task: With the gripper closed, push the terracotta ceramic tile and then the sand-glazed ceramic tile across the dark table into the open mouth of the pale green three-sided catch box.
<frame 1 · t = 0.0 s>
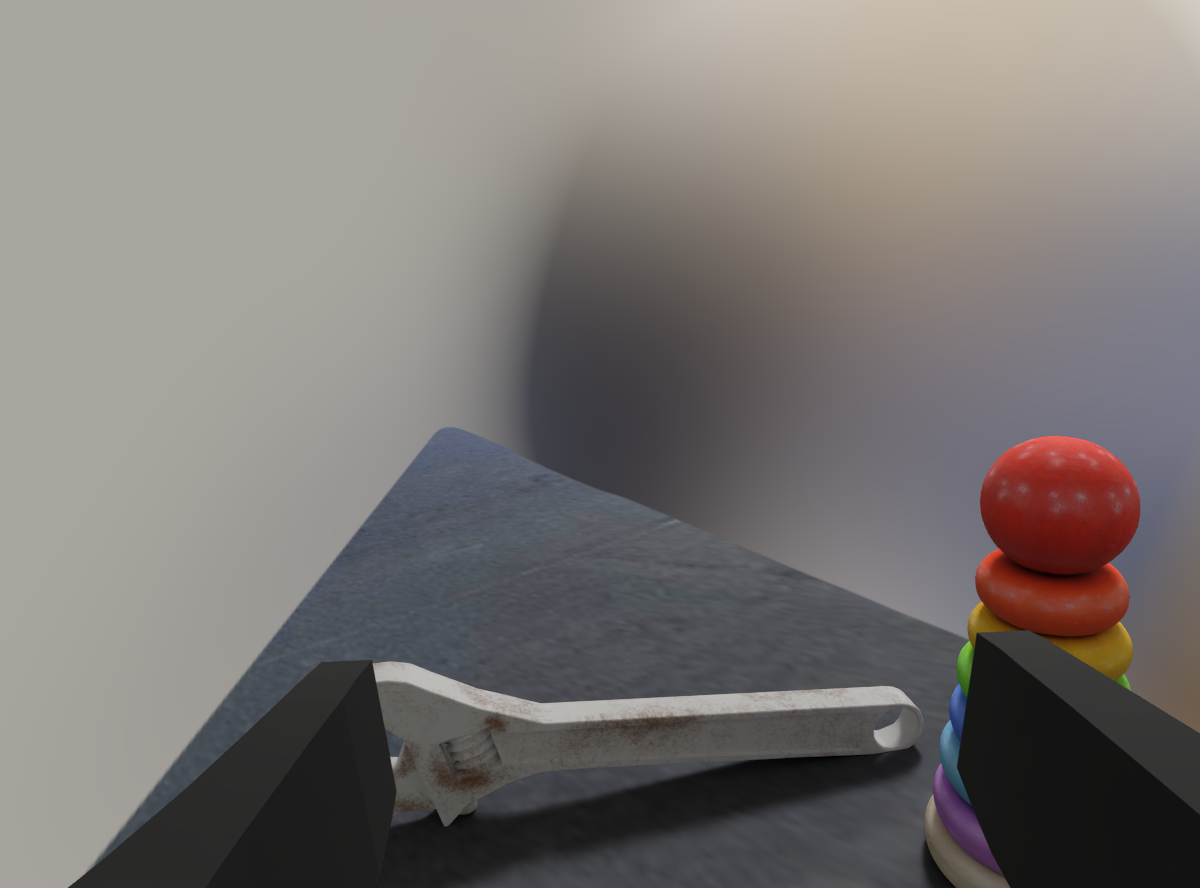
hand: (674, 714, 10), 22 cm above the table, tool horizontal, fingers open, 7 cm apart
stacking toy: (1023, 867, 34), on the table
wrench: (639, 788, 40), on the table
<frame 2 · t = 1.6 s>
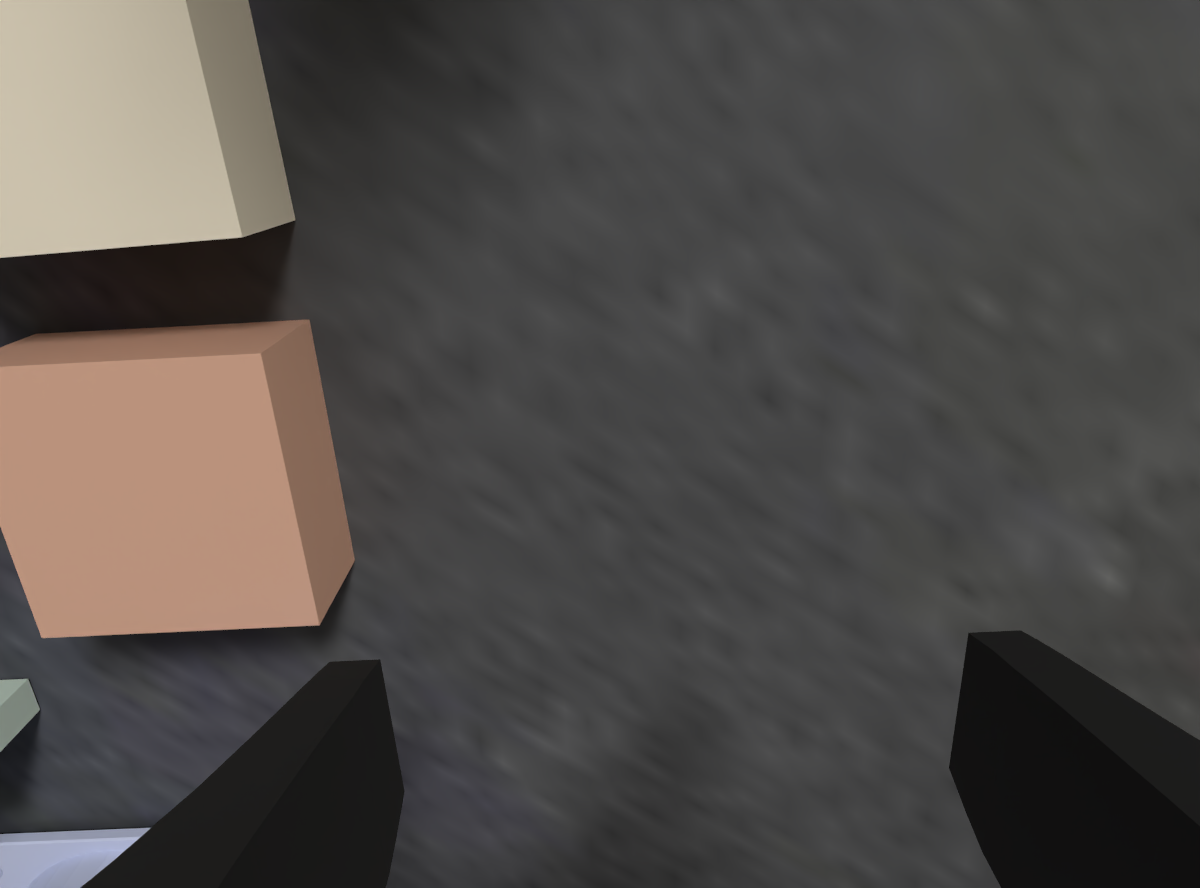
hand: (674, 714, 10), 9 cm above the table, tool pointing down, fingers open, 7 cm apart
terracotta tile: (210, 449, 19), on the table
sand tile: (117, 75, 16), on the table
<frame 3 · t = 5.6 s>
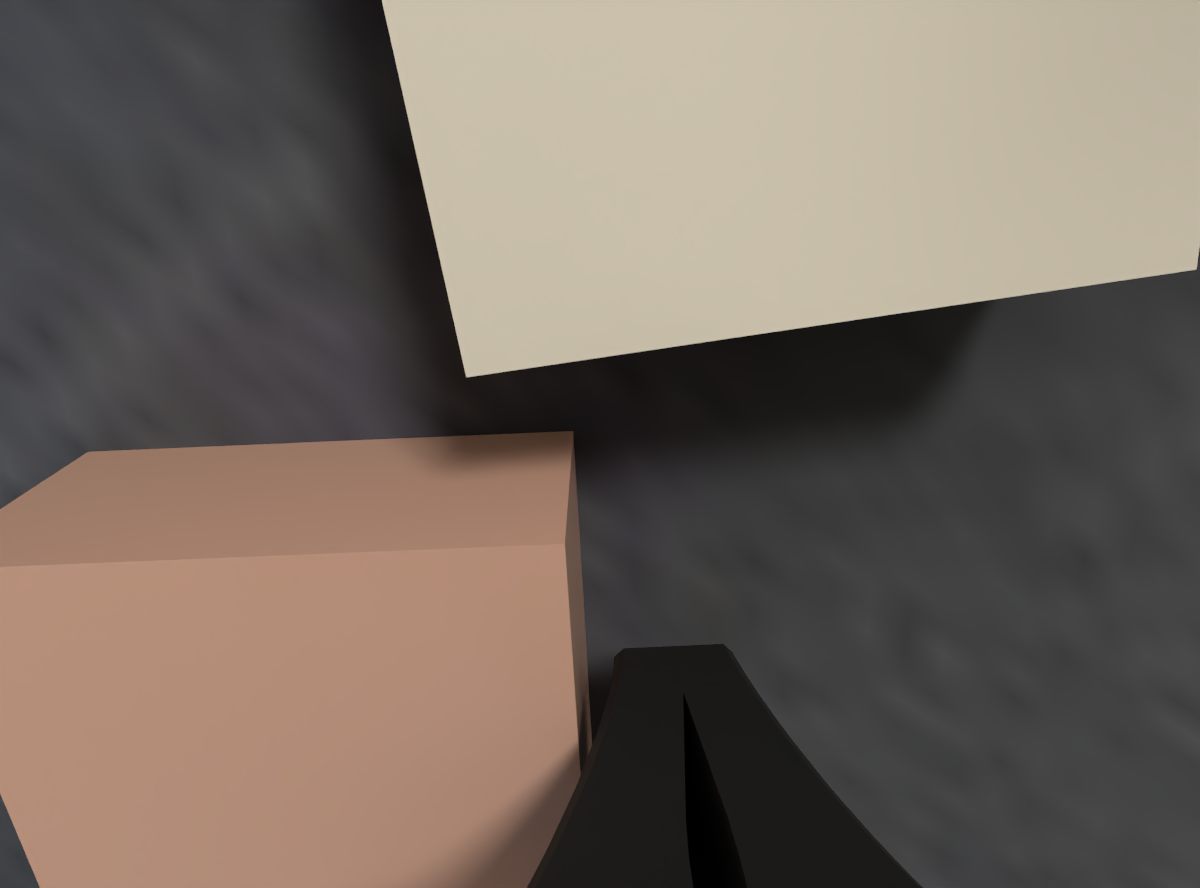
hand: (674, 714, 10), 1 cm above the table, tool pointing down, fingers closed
terracotta tile: (370, 636, 11), on the table
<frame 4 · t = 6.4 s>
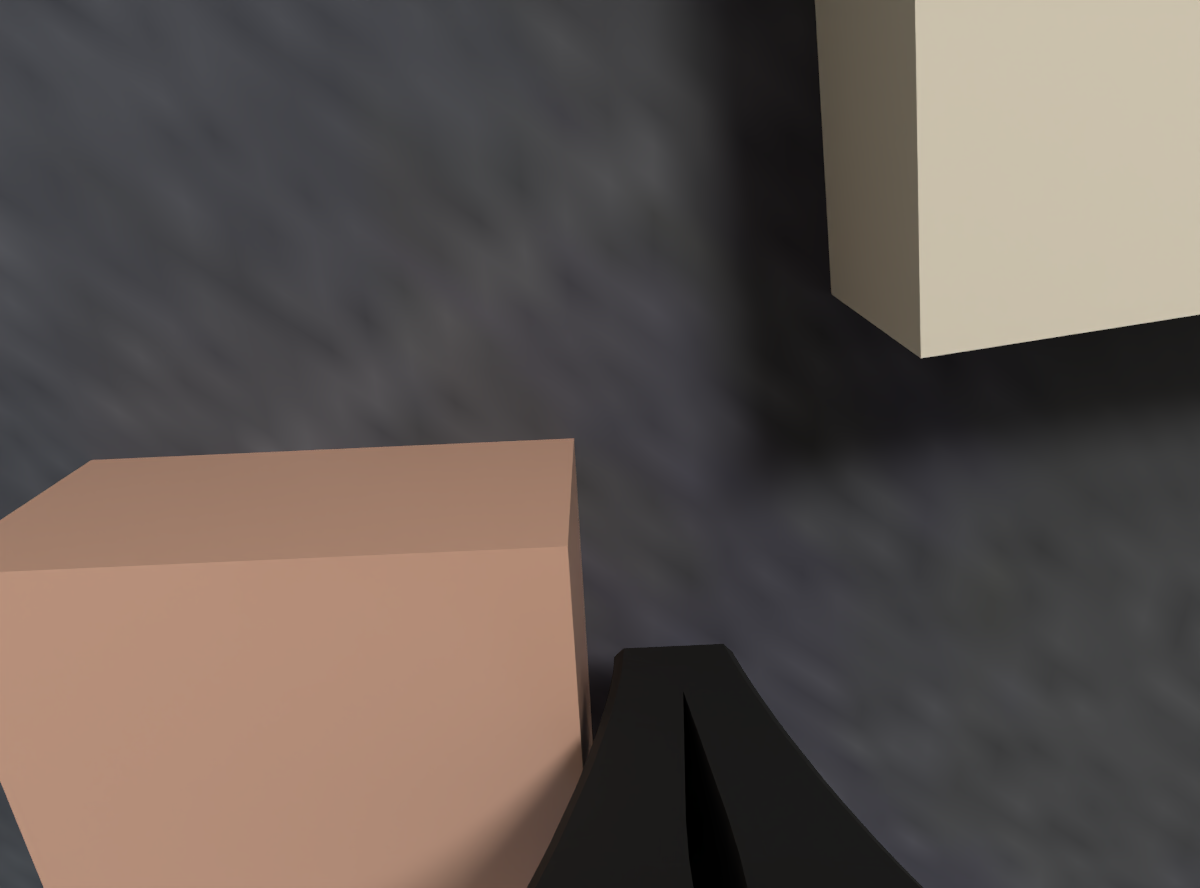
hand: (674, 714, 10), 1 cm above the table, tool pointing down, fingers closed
terracotta tile: (372, 641, 11), on the table, touching gripper
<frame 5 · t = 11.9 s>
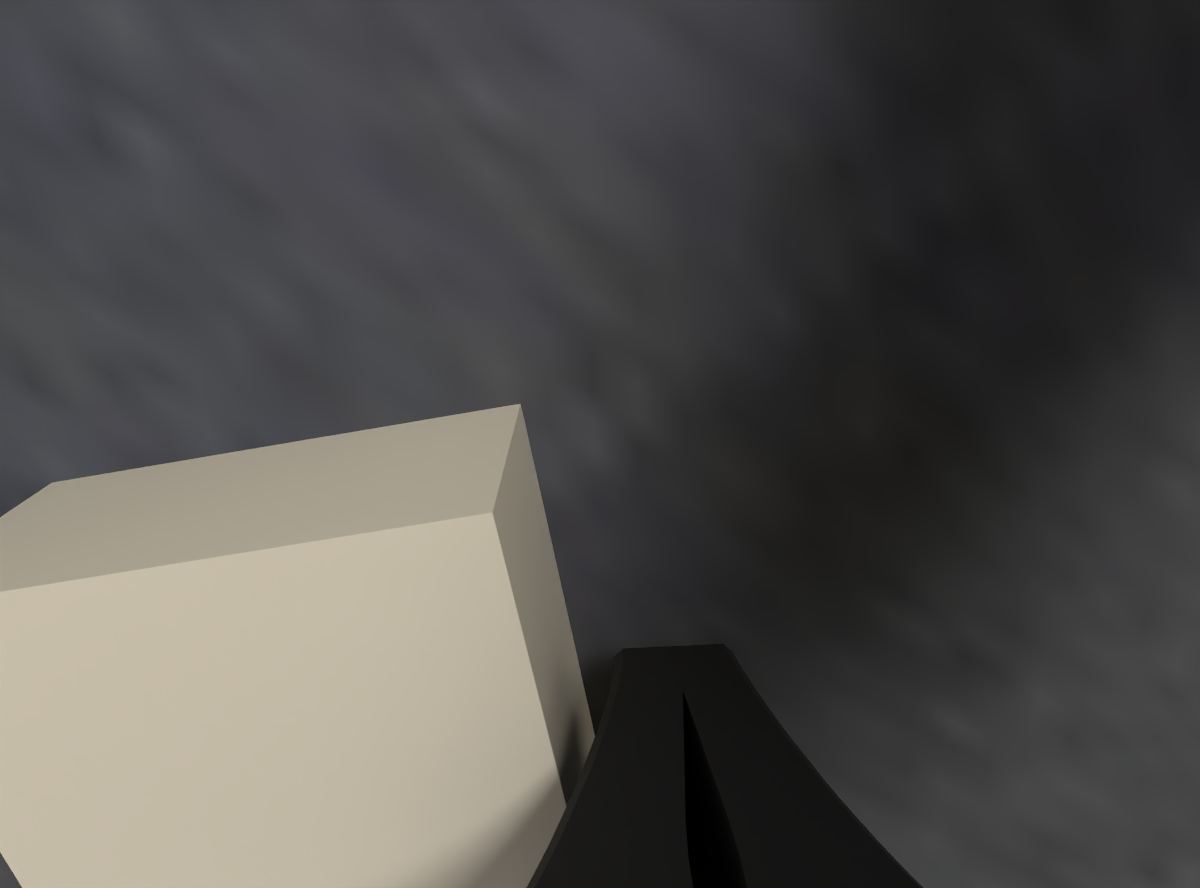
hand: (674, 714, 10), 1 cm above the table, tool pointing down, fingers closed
sand tile: (353, 639, 11), on the table, touching gripper
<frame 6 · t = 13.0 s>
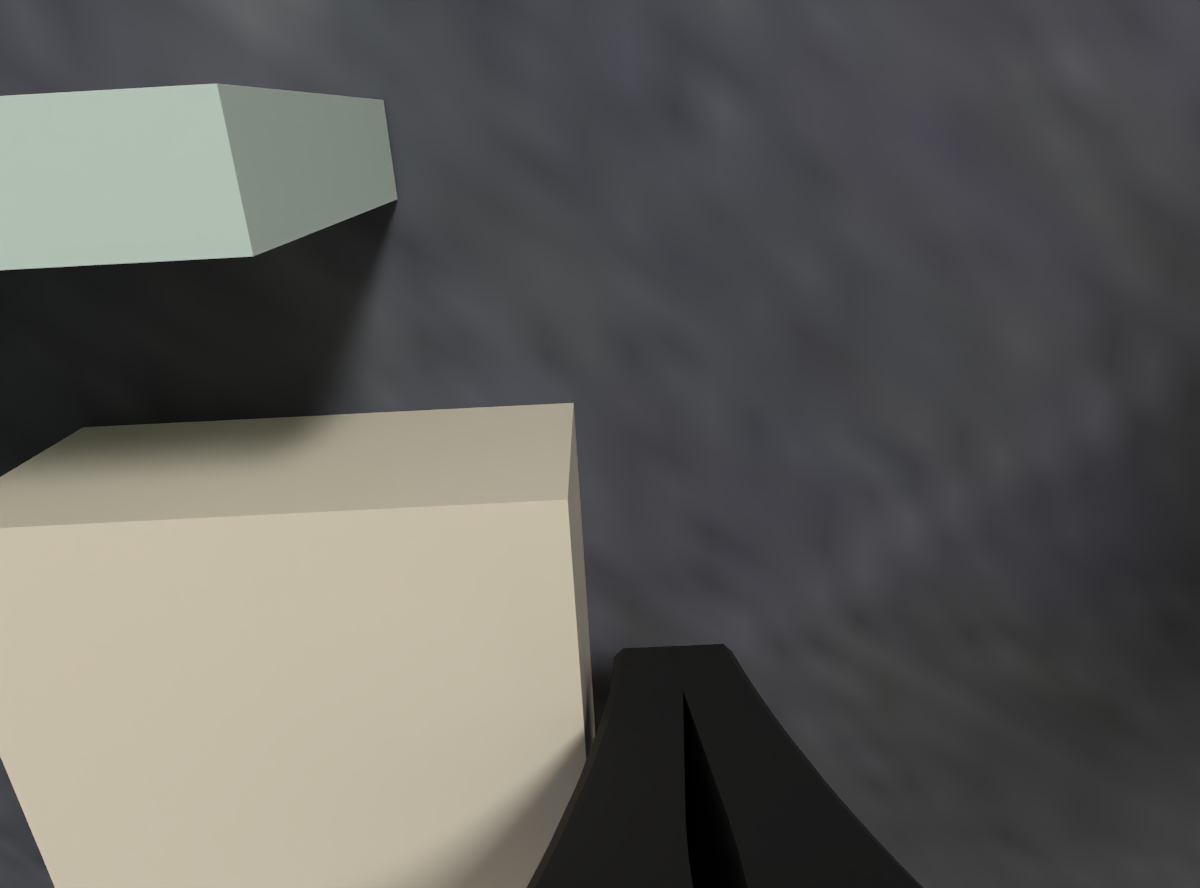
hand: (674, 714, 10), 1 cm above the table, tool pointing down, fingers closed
catch box: (141, 882, 13), on the table
sand tile: (371, 611, 11), on the table, touching gripper
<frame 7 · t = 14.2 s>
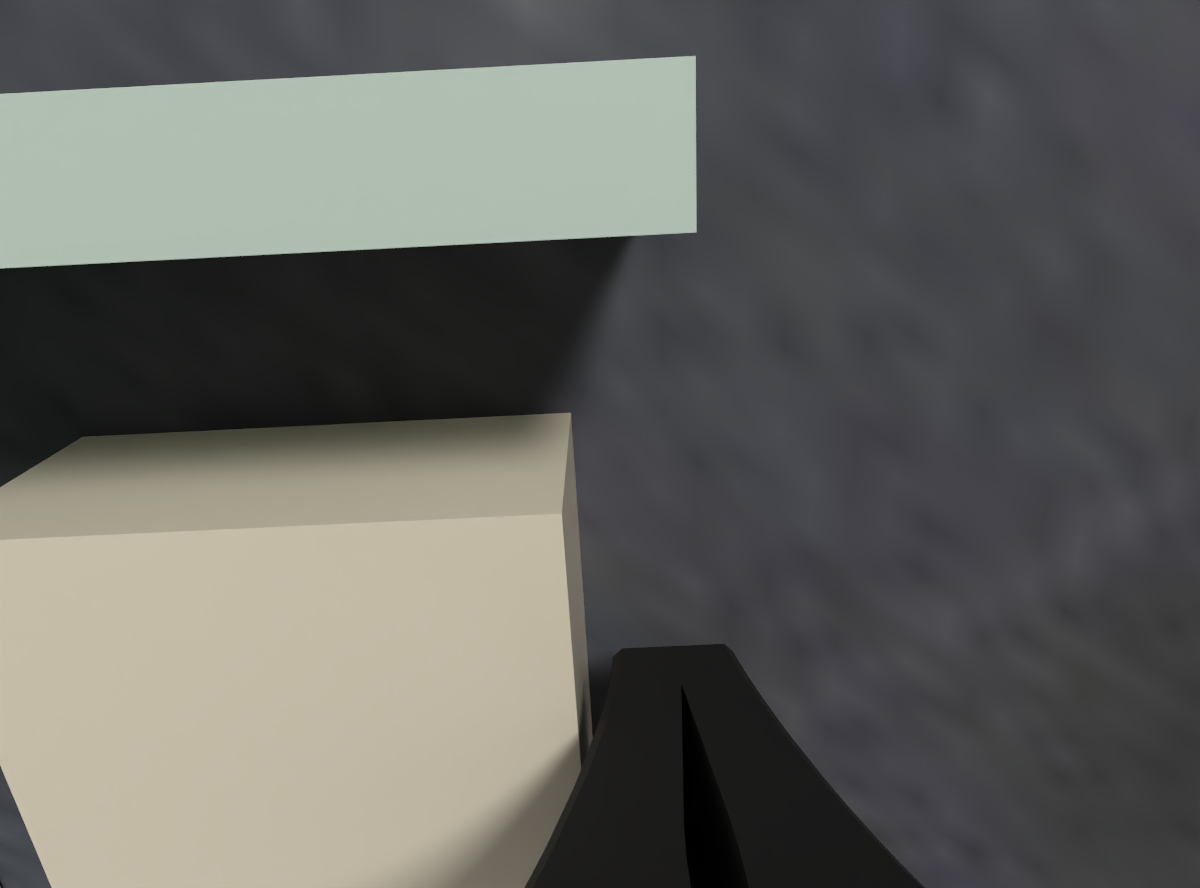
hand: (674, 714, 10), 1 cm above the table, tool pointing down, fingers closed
catch box: (317, 873, 13), on the table
sand tile: (370, 618, 11), on the table
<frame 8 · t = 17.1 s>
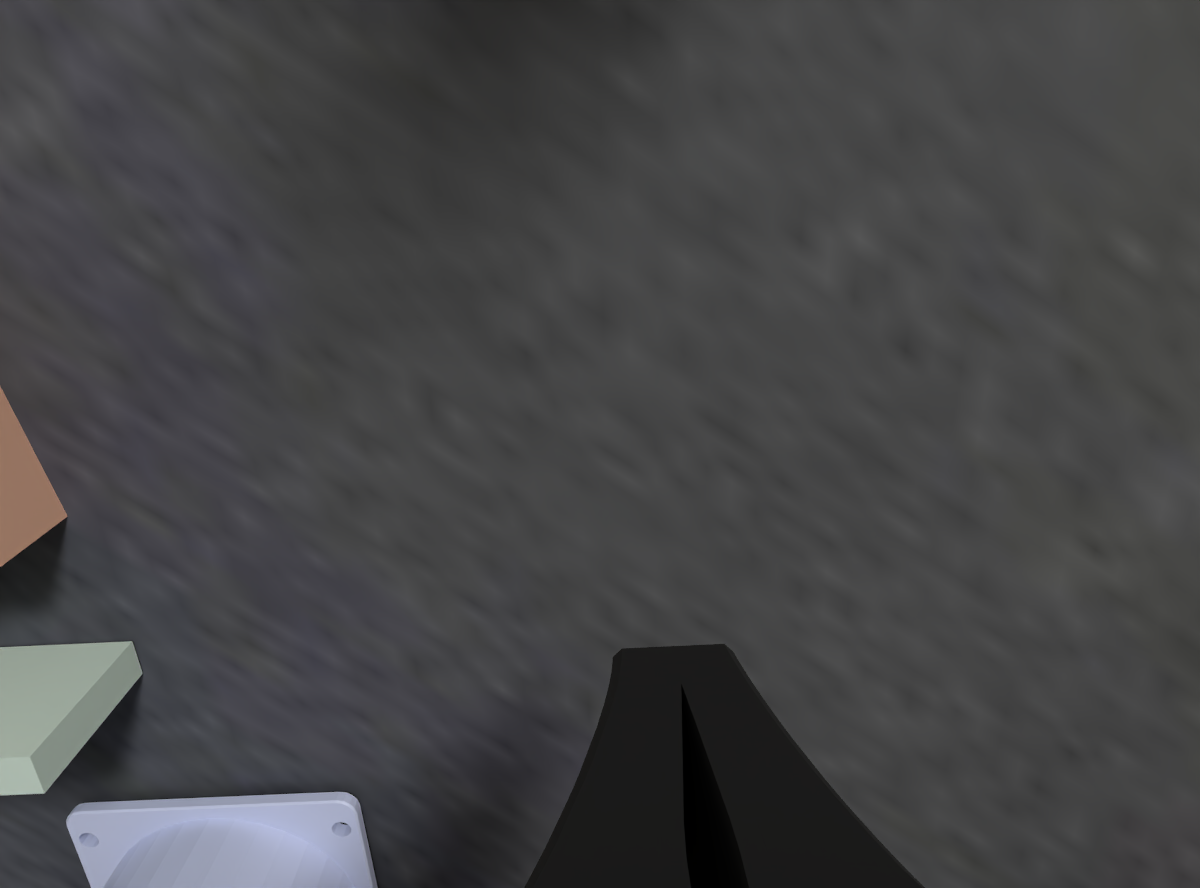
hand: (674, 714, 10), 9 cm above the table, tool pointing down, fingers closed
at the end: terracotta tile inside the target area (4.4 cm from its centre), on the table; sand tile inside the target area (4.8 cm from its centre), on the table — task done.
